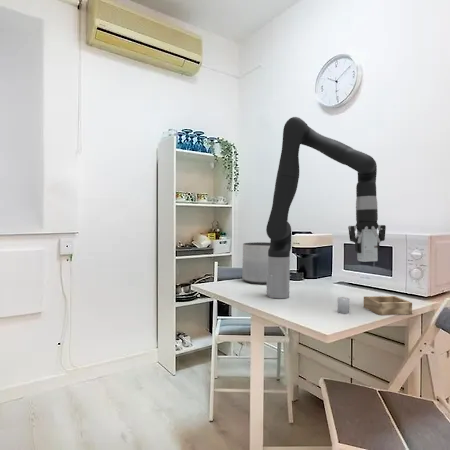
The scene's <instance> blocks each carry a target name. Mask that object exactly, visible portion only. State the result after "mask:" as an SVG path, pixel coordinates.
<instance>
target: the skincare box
mask: <svg viewBox="0 0 450 450" xmlns="http://www.w3.org/2000/svg"><path fill="white" fill-rule="evenodd" d="M375 230H376V232H377V233H378V228H377V229H375ZM362 232H363V237H362V240H361V242H360V243H361V253H357V252H356V254H357V257H356V258H357V261H358V262H363V263H364V262H365V263H366V262H378V261H379V259H378V256H379V255H378V254H379V251H378V252H377V237H375V235H374V233H373V231H372V229H367V230H363V229H362ZM362 232H361V233H362ZM361 233H360V232H358V230H357V229H356V235H357V234H358V235H360V234H361Z"/></svg>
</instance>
